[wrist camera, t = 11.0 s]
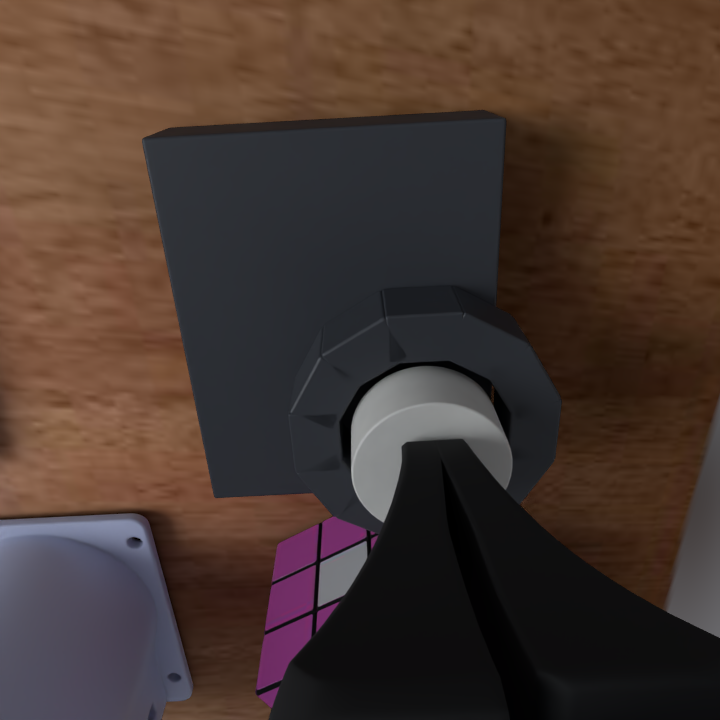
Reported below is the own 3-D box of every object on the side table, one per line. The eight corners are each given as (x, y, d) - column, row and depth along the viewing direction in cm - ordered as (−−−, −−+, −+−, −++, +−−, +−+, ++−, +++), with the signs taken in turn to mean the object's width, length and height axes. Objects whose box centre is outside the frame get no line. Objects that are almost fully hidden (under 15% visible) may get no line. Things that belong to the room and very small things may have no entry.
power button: (492, 483, 16) (508, 530, 14) (355, 490, 16) (355, 538, 14) (499, 360, 14) (518, 398, 12) (346, 368, 14) (346, 407, 13)
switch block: (510, 446, 20) (547, 533, 16) (228, 461, 20) (201, 551, 16) (536, 106, 15) (595, 121, 11) (167, 127, 15) (110, 149, 11)
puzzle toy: (275, 542, 21) (252, 695, 16) (416, 473, 20) (438, 616, 15) (359, 635, 23) (362, 795, 18) (490, 578, 22) (532, 733, 17)
